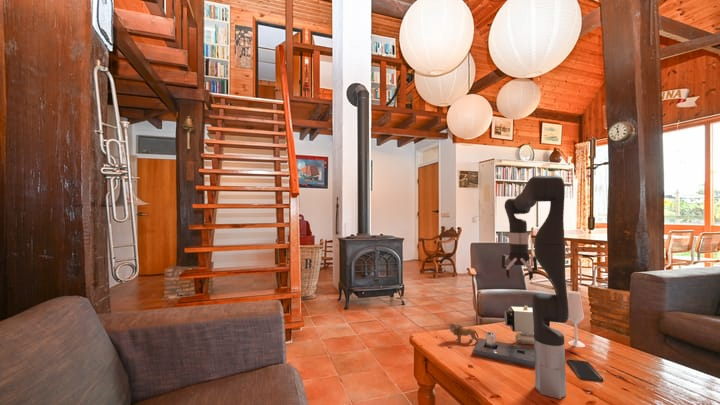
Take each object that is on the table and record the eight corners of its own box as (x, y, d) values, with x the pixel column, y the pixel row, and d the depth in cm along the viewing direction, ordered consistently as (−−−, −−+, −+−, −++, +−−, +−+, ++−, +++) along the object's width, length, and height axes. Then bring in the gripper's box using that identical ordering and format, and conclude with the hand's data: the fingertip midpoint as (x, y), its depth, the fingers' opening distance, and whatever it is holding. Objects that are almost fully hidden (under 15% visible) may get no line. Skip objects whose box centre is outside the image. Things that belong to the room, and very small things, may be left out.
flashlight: (494, 354, 139) (494, 335, 139) (485, 352, 141) (484, 334, 141) (496, 350, 142) (495, 332, 143) (486, 349, 145) (486, 331, 145)
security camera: (545, 341, 152) (543, 303, 153) (550, 348, 144) (549, 309, 144) (504, 338, 157) (503, 301, 157) (507, 345, 148) (506, 306, 149)
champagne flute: (567, 340, 153) (565, 290, 154) (583, 342, 150) (582, 291, 150) (568, 345, 147) (567, 293, 148) (586, 348, 144) (584, 294, 144)
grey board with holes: (536, 368, 126) (536, 362, 126) (473, 355, 139) (473, 349, 139) (537, 354, 138) (537, 348, 138) (479, 343, 151) (479, 338, 151)
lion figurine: (450, 343, 151) (449, 324, 152) (449, 338, 157) (448, 320, 157) (482, 344, 149) (482, 325, 149) (480, 340, 154) (479, 321, 155)
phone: (587, 361, 130) (604, 380, 116) (587, 364, 130) (604, 383, 116) (565, 359, 132) (579, 377, 118) (565, 361, 132) (579, 380, 118)
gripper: (500, 242, 144) (501, 278, 143) (536, 244, 136) (537, 282, 136) (502, 241, 150) (503, 275, 150) (536, 242, 143) (537, 278, 142)
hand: (519, 278), depth 143 cm, fingers open, 8 cm apart
